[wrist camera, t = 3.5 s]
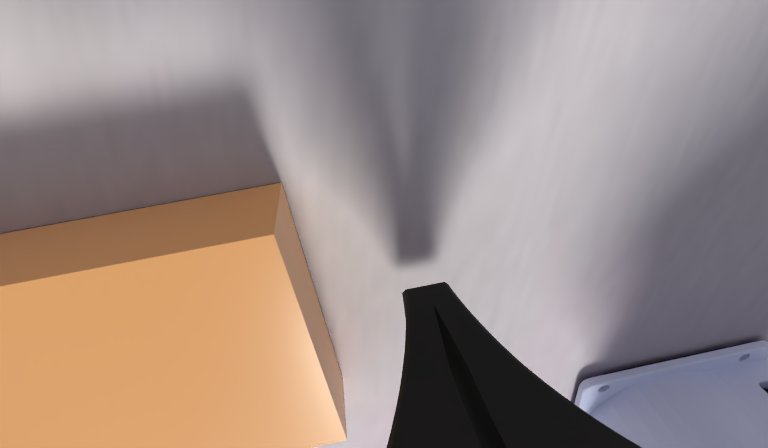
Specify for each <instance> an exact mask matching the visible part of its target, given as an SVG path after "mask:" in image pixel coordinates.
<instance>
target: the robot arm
mask: <svg viewBox="0 0 768 448" xmlns="http://www.w3.org/2000/svg"><path fill="white" fill-rule="evenodd" d="M402 294H403V301H404V309H405V316H406V340H405V354H404V363H403V371H402V379H401V385H400V391H399V396H398V402H397V407H396V412H395V416H394V420H393V425H392V429H391V433H390V437H389V441H388V445H387V448H768V342H767V341H765V340H762V341H756V342H751V343H747V344H742V345H738V346H733V347H729V348H724V349H719V350H715V351H710V352H706V353H701V354H696V355H692V356H687V357H683V358H678V359H674V360H669V361H664V362H660V363H655V364H651V365H646V366H642V367H637V368H632V369H628V370H623V371H619V372H614V373H610V374H605V375H600V376H596V377H591V378H588V379H586V380H584V381H582V382H581V383H580V385H579V388H578V392H577V396H576V399H575V403H572V402H571V401H569V400H568V399H566V398H565V397H564V396H562V395H561V394H559V393H558V392H557V391H555V390H554V389H553V388H552V387H550V386H549V385H548V384H546V383H545V382H544V381H543V380H541V379H540V378H539V377H538V376H536V375H535V374H534V373H533V372H532V371H530V370H529V369H528V368H527V367H526V366H524V365H523V364H522V363H521V362H520V361H519V360H518V359H516V358H515V357H514V356H513V355H512V354H511V353H510V352H509V351H508V350H507V349H506V348H505V347H503V346H502V345H501V344H500V343H499V342H498V341H497V340H496V339H495V338H494V337H493V336H492V335H491V334H490V333H489V332H488V331H487V330H486V329H485V328H484V326H483V325H482V324H481V323H480V322H479V321H478V320H477V319H476V318H475V317H474V316H473V315H472V314H471V312H470V311H469V310H468V309H467V308H466V307H465V305H464V304H463V303H462V302H461V301H460V299H459V298H458V297H457V296H456V294H455V293H454V292H453V290H452V289H451V288H450V286H449V285H448V284H447V283H445V282H442V283H437V284H432V285H427V286H422V287H417V288H412V289H407V290H405V291H404V292H403V293H402Z"/></svg>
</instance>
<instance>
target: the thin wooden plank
mask: <svg viewBox="0 0 768 448" xmlns="http://www.w3.org/2000/svg"><path fill="white" fill-rule="evenodd" d="M345 440H347V433H346V419H345V405H344V391H343V378H342V374H341V371H340V368H339V365H338V362H337V358H336V355H335V352H334V349H333V346H332V342H331V339H330V336H329V333H328V330H327V326H326V323H325V320H324V317H323V314H322V310H321V307H320V304H319V301H318V298H317V294H316V291H315V288H314V285H313V282H312V278H311V275H310V272H309V269H308V266H307V262H306V259H305V256H304V253H303V250H302V246H301V243H300V240H299V237H298V234H297V230H296V227H295V224H294V221H293V218H292V214H291V211H290V208H289V205H288V202H287V198H286V195H285V192H284V189H283V186H282V183H276V184H271V185H265V186H260V187H255V188H249V189H244V190H238V191H233V192H227V193H222V194H216V195H211V196H205V197H200V198H194V199H189V200H184V201H178V202H173V203H167V204H162V205H156V206H151V207H145V208H140V209H134V210H129V211H123V212H118V213H113V214H107V215H102V216H96V217H91V218H85V219H80V220H74V221H69V222H63V223H58V224H52V225H47V226H42V227H36V228H31V229H25V230H20V231H14V232H9V233H3V234H0V448H313V447H317V446H322V445H326V444H331V443H335V442H340V441H345Z"/></svg>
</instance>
